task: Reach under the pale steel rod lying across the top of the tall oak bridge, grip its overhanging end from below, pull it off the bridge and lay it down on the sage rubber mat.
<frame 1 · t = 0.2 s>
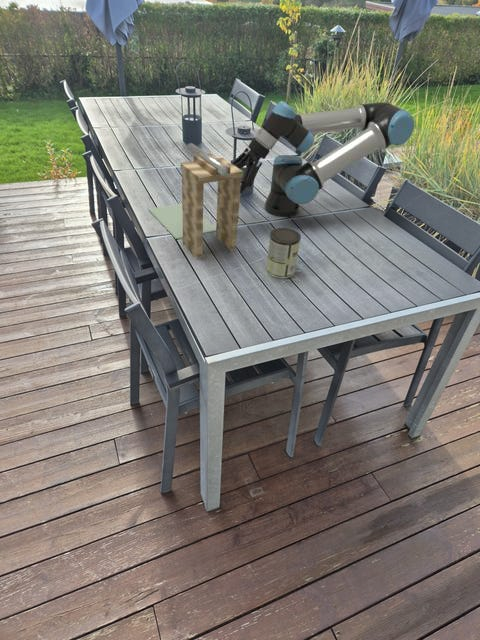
hand: (228, 192, 168), 15 cm above the table, tool tilted 35°, fingers open, 13 cm apart
coffee can: (280, 271, 154), on the table
steel rod: (206, 163, 147), point 30 cm above the table, touching oak bridge
oak bridge: (209, 247, 163), on the table
sage mat: (182, 220, 179), on the table
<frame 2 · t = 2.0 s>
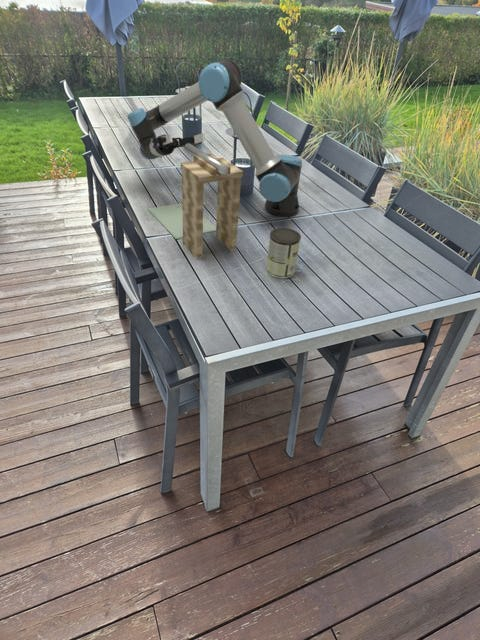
hand: (187, 137, 159), 33 cm above the table, tool pointing upward, fingers open, 13 cm apart
nothing on the table moved.
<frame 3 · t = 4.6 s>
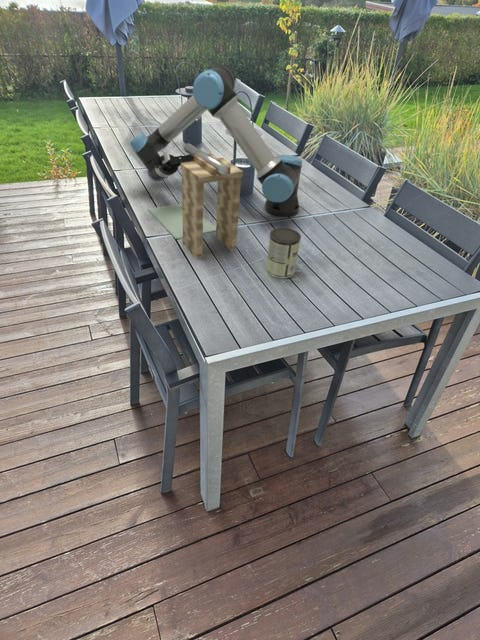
hand: (185, 153, 157), 29 cm above the table, tool pointing upward, fingers open, 13 cm apart
nothing on the table moved.
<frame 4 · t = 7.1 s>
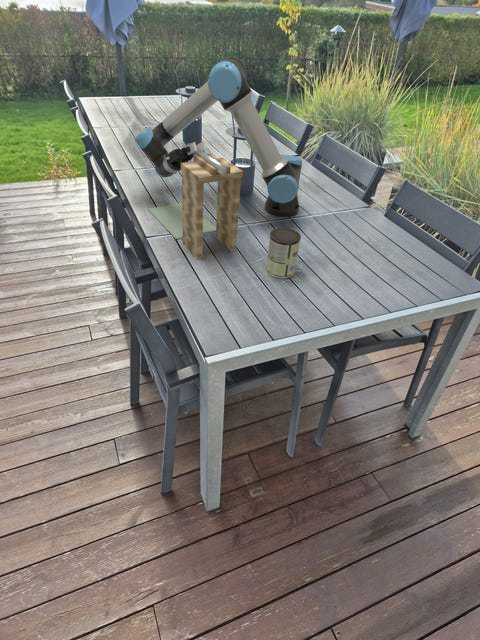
hand: (199, 145, 148), 34 cm above the table, tool pointing upward, fingers closed on steel rod, 3 cm apart
steel rod: (204, 162, 147), point 30 cm above the table, tilted 19°, touching gripper, oak bridge
everything else where it was.
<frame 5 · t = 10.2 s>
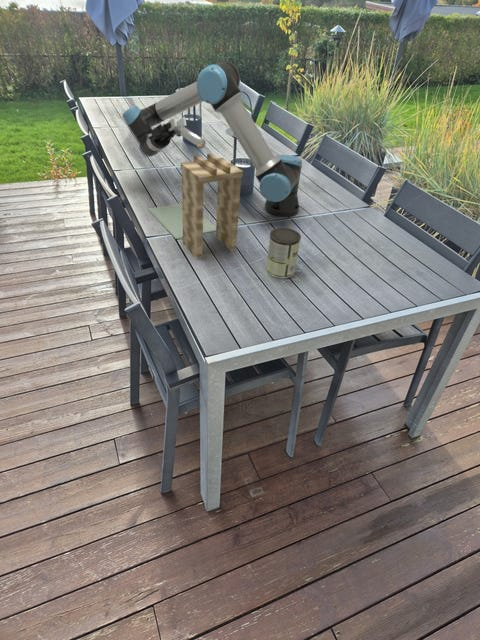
hand: (180, 121, 153), 39 cm above the table, tool pointing upward, fingers closed on steel rod, 3 cm apart
steel rod: (184, 137, 153), point 34 cm above the table, tilted 19°, touching gripper
everything else where it was.
when the fingers open (26 cm above the table, at t = 13.6 s): steel rod drops 21 cm, resting on sage mat.
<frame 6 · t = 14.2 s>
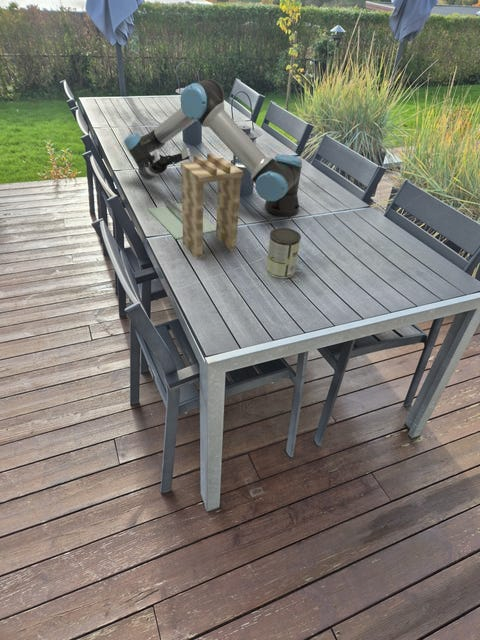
hand: (173, 153, 168), 25 cm above the table, tool pointing upward, fingers open, 12 cm apart
steel rod: (179, 217, 179), point 1 cm above the table, tilted 13°, touching sage mat
everything else where it was.
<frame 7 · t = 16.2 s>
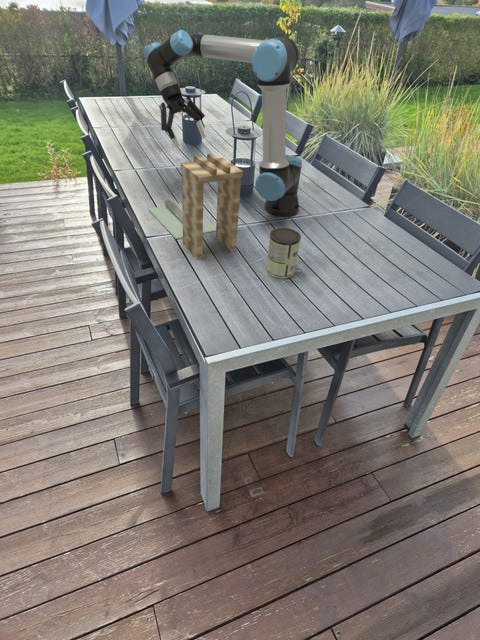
hand: (191, 141, 175), 26 cm above the table, tool tilted 35°, fingers open, 13 cm apart
nothing on the table moved.
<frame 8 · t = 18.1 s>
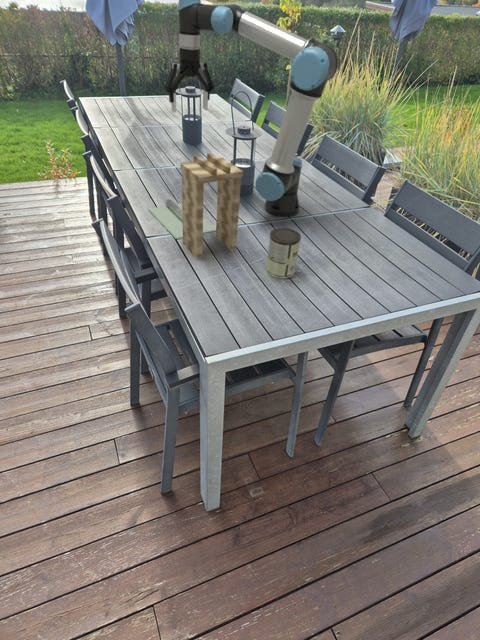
hand: (189, 110, 173), 37 cm above the table, tool pointing down, fingers open, 13 cm apart
steel rod: (179, 217, 179), point 1 cm above the table, tilted 23°, touching sage mat
everything else where it was.
at the end: steel rod point 0.7 cm above the table; steel rod 1.6 cm from the sage mat (horizontally); the gripper is holding nothing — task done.
